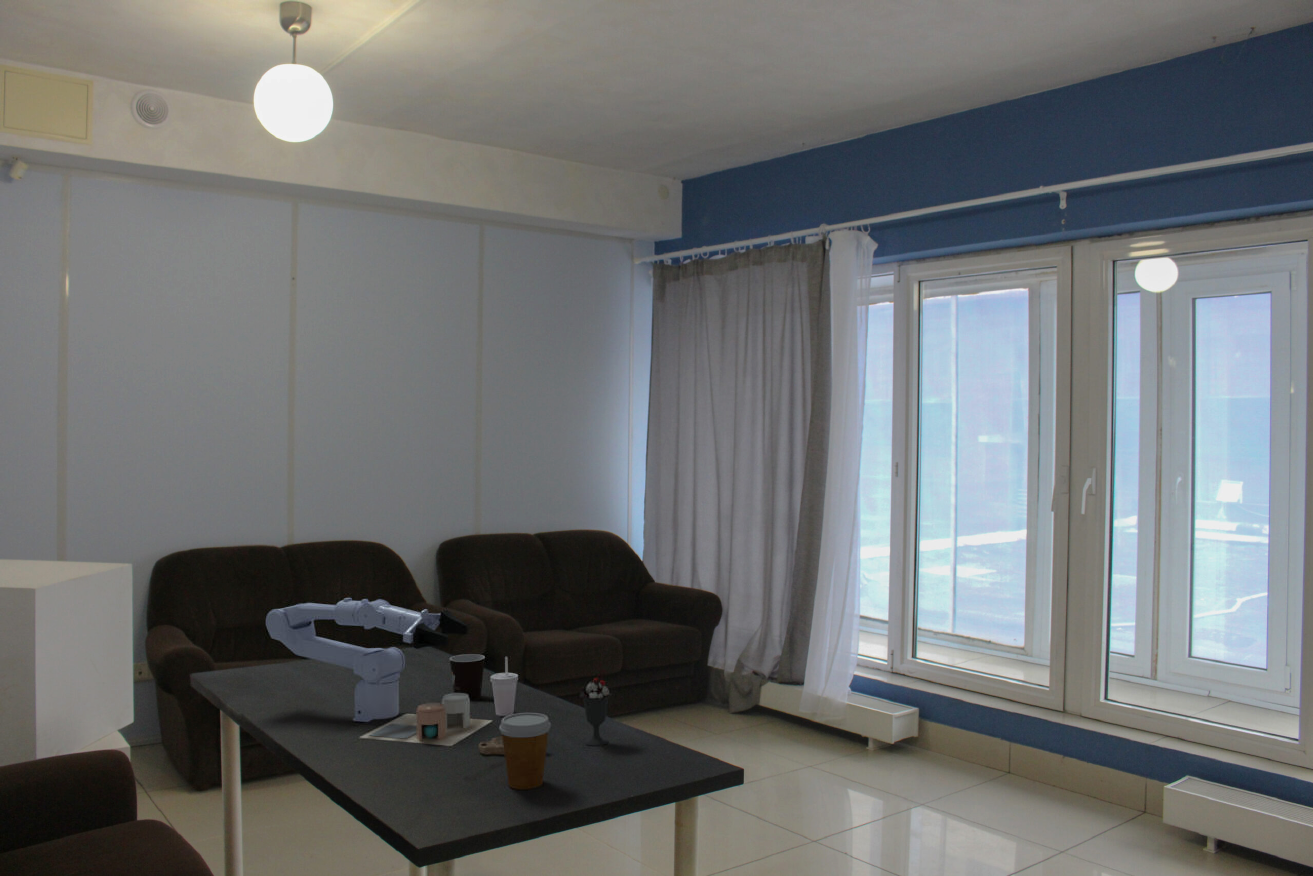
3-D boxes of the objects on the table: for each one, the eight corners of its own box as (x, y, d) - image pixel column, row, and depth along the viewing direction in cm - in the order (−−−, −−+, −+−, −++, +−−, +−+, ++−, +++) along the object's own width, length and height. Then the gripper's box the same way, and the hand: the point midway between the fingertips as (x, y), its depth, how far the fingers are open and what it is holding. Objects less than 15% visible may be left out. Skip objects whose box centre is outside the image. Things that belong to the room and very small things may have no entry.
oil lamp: (480, 764, 194) (480, 738, 194) (476, 752, 201) (476, 728, 201) (546, 757, 197) (545, 733, 197) (540, 746, 205) (540, 722, 205)
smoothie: (513, 722, 222) (512, 660, 222) (486, 721, 223) (485, 659, 224) (522, 714, 228) (521, 654, 229) (496, 713, 230) (495, 653, 230)
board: (358, 742, 208) (358, 736, 208) (406, 718, 227) (406, 713, 227) (451, 750, 202) (451, 745, 202) (492, 725, 220) (492, 719, 220)
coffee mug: (481, 702, 239) (481, 661, 239) (446, 702, 240) (446, 662, 240) (490, 690, 251) (490, 651, 251) (457, 690, 251) (456, 651, 251)
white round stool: (438, 728, 214) (438, 698, 214) (450, 721, 220) (450, 692, 220) (461, 730, 213) (461, 700, 213) (473, 723, 218) (473, 693, 218)
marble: (421, 739, 207) (421, 724, 207) (428, 735, 210) (428, 721, 210) (433, 740, 206) (433, 725, 206) (441, 736, 209) (440, 722, 209)
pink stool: (412, 740, 206) (412, 708, 206) (426, 732, 211) (425, 702, 211) (436, 742, 204) (436, 710, 204) (449, 734, 210) (449, 703, 210)
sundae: (616, 739, 209) (616, 668, 209) (605, 748, 202) (604, 676, 202) (588, 736, 211) (587, 666, 211) (575, 745, 205) (574, 673, 205)
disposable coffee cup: (501, 776, 186) (501, 712, 186) (551, 774, 187) (551, 711, 187) (497, 794, 177) (497, 727, 177) (550, 791, 178) (550, 725, 178)
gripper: (387, 616, 216) (438, 629, 211) (426, 596, 230) (475, 608, 225) (386, 645, 218) (437, 659, 213) (425, 624, 231) (474, 637, 226)
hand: (457, 635), depth 219 cm, fingers open, 7 cm apart
